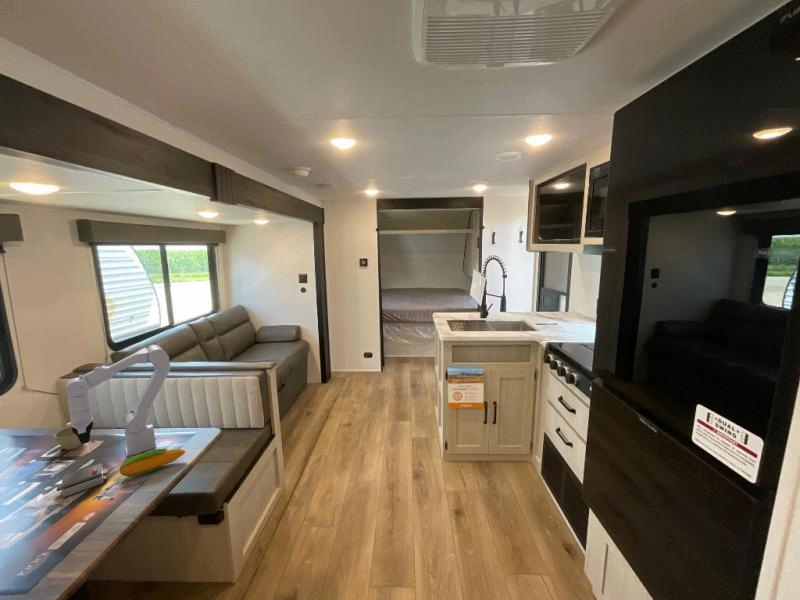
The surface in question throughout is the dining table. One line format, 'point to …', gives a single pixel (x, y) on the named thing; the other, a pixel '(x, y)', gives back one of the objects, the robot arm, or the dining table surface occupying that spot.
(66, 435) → the flower pot
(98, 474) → the lid
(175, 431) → the dining table surface
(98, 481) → the cooker
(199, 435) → the dining table surface
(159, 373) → the robot arm
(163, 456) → the corn
